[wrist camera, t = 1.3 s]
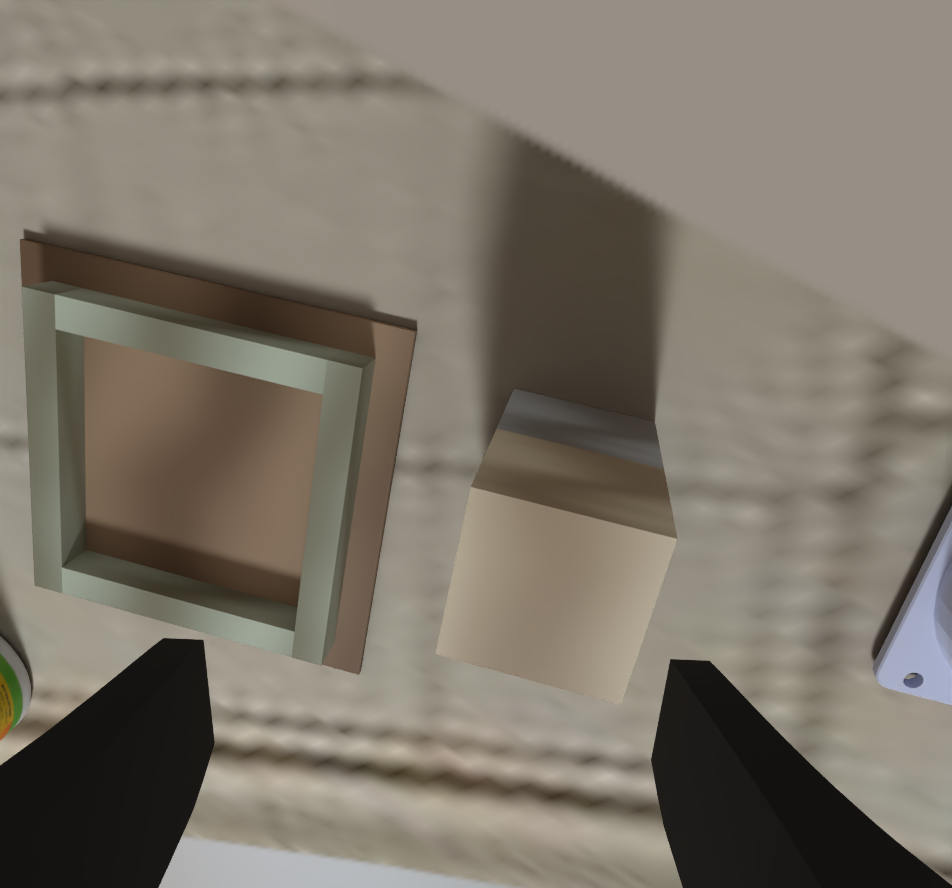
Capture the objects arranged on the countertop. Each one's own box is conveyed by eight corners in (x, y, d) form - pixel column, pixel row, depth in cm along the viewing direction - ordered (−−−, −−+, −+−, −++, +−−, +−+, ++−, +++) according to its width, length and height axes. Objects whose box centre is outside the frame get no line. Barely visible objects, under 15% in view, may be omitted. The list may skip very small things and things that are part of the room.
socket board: (417, 330, 20) (404, 341, 19) (360, 670, 25) (347, 698, 23) (25, 238, 21) (-13, 242, 20) (39, 581, 26) (8, 602, 24)
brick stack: (654, 421, 20) (677, 539, 14) (616, 545, 21) (620, 705, 15) (514, 388, 20) (470, 487, 14) (486, 512, 22) (435, 653, 15)
